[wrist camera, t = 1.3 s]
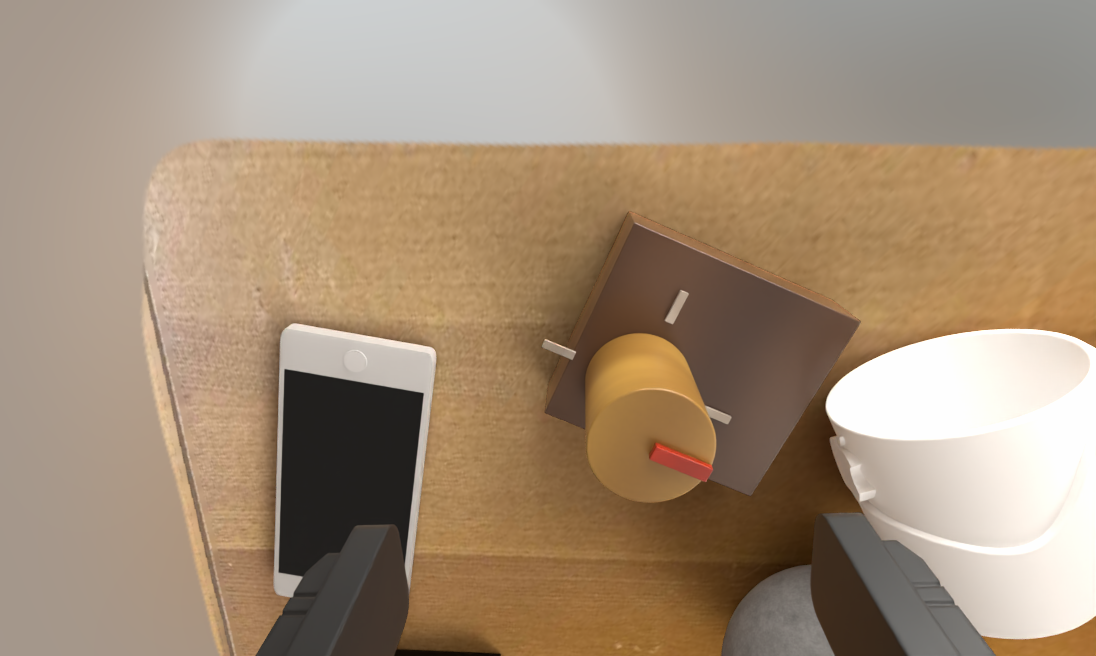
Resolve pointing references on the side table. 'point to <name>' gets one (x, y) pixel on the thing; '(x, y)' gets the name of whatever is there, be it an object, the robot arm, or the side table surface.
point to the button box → (438, 653)
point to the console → (710, 340)
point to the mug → (982, 470)
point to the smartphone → (347, 443)
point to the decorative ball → (777, 619)
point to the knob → (646, 420)
